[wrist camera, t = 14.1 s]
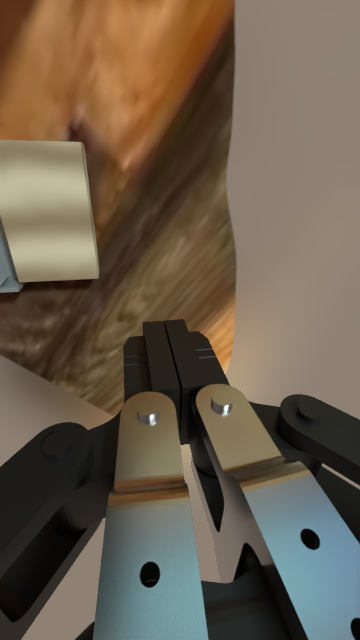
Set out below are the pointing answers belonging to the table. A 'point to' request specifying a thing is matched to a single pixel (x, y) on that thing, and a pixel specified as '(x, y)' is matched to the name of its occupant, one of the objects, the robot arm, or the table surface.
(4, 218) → the board
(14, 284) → the tray
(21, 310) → the table surface
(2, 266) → the blue gray block
